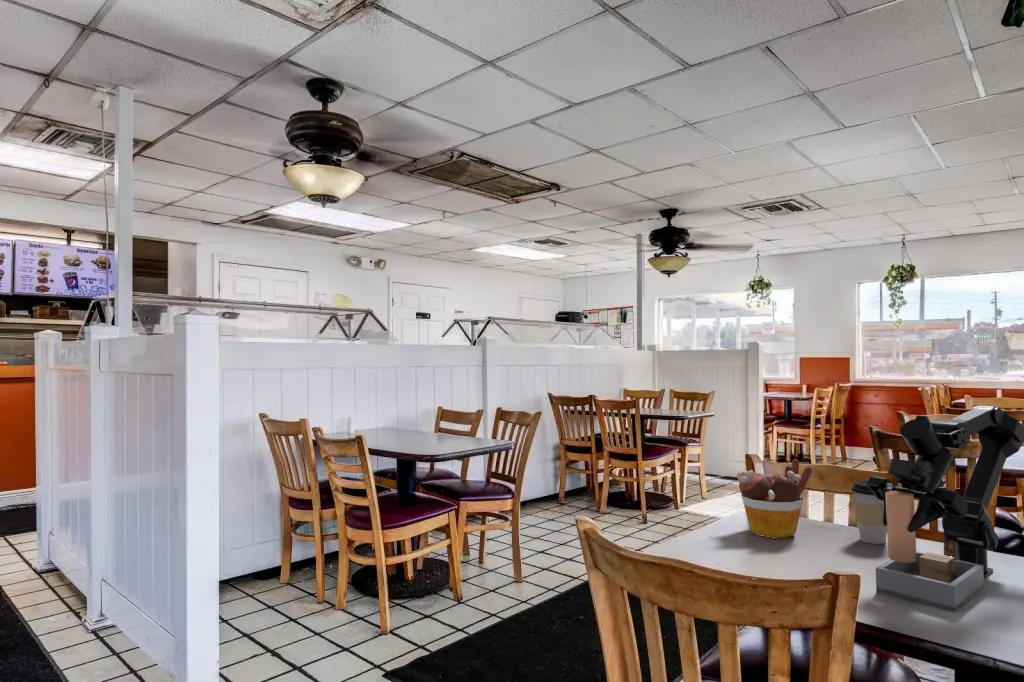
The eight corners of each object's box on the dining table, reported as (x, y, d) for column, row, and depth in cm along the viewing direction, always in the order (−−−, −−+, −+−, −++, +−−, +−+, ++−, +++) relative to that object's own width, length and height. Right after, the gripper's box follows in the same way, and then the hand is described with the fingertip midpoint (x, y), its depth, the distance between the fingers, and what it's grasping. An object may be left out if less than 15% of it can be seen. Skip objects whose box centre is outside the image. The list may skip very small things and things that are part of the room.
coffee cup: (870, 534, 172) (868, 479, 173) (902, 543, 164) (900, 485, 164) (844, 538, 169) (842, 482, 169) (875, 548, 160) (874, 488, 161)
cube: (928, 574, 138) (927, 551, 138) (955, 581, 134) (954, 557, 134) (920, 580, 135) (919, 556, 135) (947, 586, 131) (946, 562, 131)
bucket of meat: (764, 545, 164) (762, 468, 165) (724, 528, 180) (723, 458, 180) (825, 537, 170) (823, 463, 171) (782, 522, 186) (780, 454, 186)
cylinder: (886, 553, 134) (883, 490, 135) (913, 555, 133) (910, 491, 133) (890, 561, 130) (887, 495, 130) (918, 563, 128) (915, 497, 128)
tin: (948, 544, 162) (947, 511, 163) (963, 546, 160) (962, 513, 161) (942, 559, 151) (941, 524, 151) (958, 562, 149) (957, 526, 149)
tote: (909, 572, 143) (908, 549, 143) (983, 589, 132) (983, 565, 132) (876, 591, 131) (875, 567, 132) (955, 612, 121) (954, 586, 121)
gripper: (869, 439, 142) (837, 494, 137) (957, 450, 125) (923, 513, 120) (894, 471, 145) (863, 526, 140) (982, 486, 128) (950, 549, 123)
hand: (896, 527), depth 131 cm, fingers closed on cylinder, 5 cm apart
